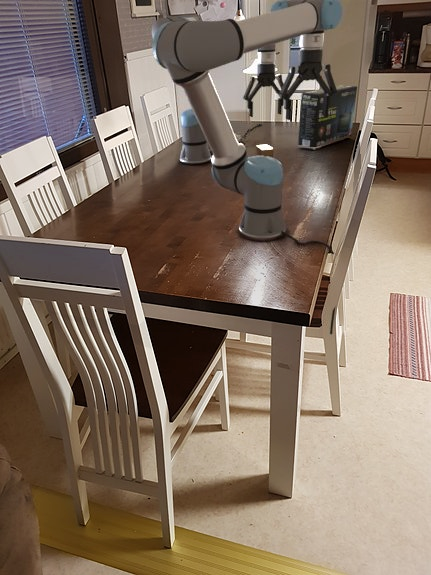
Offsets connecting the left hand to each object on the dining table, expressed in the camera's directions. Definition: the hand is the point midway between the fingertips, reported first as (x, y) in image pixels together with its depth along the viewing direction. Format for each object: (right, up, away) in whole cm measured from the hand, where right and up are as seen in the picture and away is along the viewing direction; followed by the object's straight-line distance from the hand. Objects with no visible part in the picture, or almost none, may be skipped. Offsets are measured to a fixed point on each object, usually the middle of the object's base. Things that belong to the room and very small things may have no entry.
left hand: (265, 115), depth 206 cm
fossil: (-16, +1, +45) cm, 48 cm away
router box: (+36, -1, +38) cm, 53 cm away
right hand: (+9, -19, -48) cm, 52 cm away
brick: (+1, -18, +11) cm, 22 cm away
